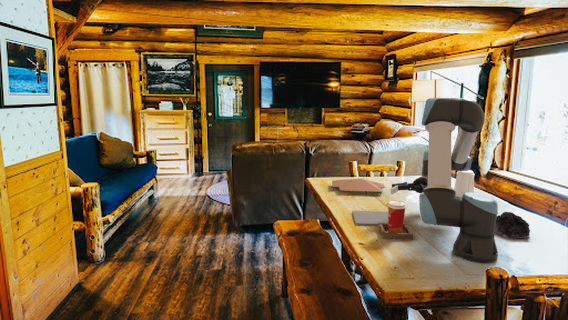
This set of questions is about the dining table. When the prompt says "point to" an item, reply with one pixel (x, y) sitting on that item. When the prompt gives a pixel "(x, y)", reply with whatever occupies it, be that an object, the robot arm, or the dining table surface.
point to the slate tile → (370, 217)
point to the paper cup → (396, 216)
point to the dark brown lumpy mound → (511, 226)
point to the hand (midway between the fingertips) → (405, 194)
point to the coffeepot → (464, 182)
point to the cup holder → (399, 236)
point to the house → (358, 185)
